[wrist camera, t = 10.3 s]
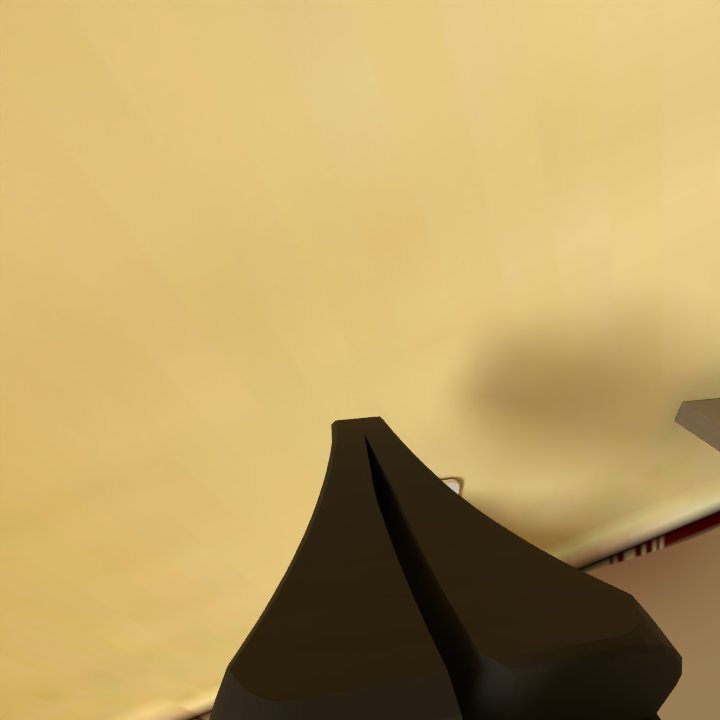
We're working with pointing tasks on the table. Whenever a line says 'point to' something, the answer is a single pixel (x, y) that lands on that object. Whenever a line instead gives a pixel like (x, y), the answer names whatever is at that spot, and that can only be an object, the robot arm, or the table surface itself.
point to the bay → (702, 420)
